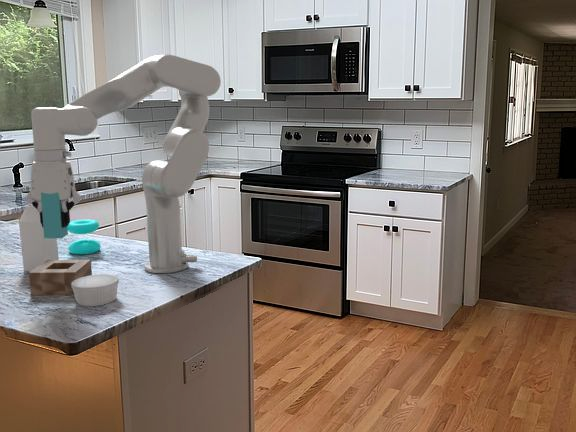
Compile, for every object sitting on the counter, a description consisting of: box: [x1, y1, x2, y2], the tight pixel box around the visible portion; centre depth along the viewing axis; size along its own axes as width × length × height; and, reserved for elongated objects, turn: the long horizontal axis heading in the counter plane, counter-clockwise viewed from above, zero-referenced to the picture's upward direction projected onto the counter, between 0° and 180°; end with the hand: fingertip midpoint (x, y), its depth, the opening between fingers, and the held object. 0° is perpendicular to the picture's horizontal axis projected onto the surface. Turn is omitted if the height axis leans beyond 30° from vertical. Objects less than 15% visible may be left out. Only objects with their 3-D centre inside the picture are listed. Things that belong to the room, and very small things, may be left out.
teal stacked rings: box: [67, 218, 101, 255], centre depth 201 cm, size 10×10×10 cm
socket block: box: [28, 259, 93, 296], centre depth 164 cm, size 12×12×6 cm
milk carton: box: [18, 204, 60, 273], centre depth 180 cm, size 7×7×19 cm
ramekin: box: [71, 273, 120, 307], centre depth 154 cm, size 11×11×5 cm
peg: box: [41, 192, 69, 239], centre depth 160 cm, size 4×4×12 cm
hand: (55, 225), depth 161 cm, fingers closed on peg, 4 cm apart
